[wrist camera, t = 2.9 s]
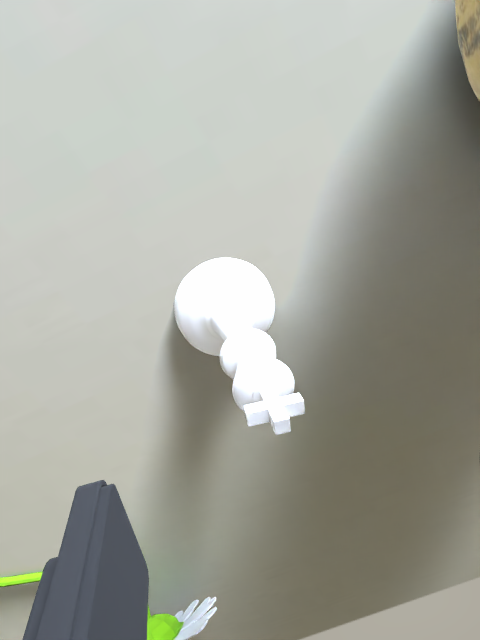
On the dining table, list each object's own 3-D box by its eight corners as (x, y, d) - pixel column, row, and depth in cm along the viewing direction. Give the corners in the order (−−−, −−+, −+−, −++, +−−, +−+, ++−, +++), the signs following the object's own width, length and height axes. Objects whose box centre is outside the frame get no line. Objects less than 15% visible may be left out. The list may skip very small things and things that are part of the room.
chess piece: (277, 341, 21) (368, 474, 12) (184, 361, 21) (208, 516, 12) (267, 249, 20) (366, 325, 10) (164, 267, 19) (174, 366, 10)
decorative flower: (-126, 779, 17) (232, 709, 20) (-90, 597, 19) (224, 560, 22) (-45, 696, 24) (211, 654, 27) (-26, 570, 26) (207, 545, 29)
